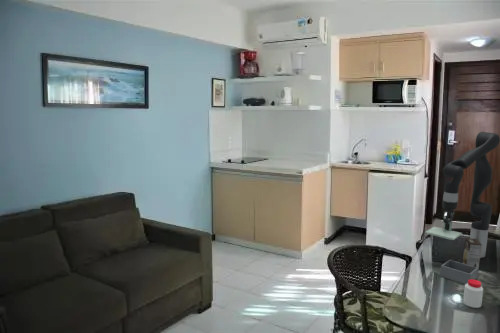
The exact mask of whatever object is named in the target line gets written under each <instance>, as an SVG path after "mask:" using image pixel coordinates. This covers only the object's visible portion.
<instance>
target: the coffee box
mask: <svg viewBox="0 0 500 333" xmlns="http://www.w3.org/2000/svg"><path fill="white" fill-rule="evenodd" d="M481 246H482V244H481V243H480V242H479V241H478V240H477V239H471V238H470V237H469V238H468V237H466V238H465V239H464V249H463V256H462V263H463V264H467V265H470V266H474V267H477V268H478V270H479V267H480V260H481V258H480V253H481Z"/></svg>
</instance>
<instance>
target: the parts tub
mask: <svg viewBox="0 0 500 333" xmlns="http://www.w3.org/2000/svg"><path fill="white" fill-rule="evenodd" d="M478 275H479V269H478V268H477V267H474V266H470V265H467V264H463V262H460V261H455V260H452V259H449V260H447V261H446V262H444V263H443V264H442V265H440V271H439V277H441V278H444V279H448V280H452V281H454V282H457V283H460V284H463V285H465V284H467V283H468V280H470V279H473V280H478Z"/></svg>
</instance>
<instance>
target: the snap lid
mask: <svg viewBox="0 0 500 333" xmlns="http://www.w3.org/2000/svg"><path fill="white" fill-rule="evenodd" d="M452 227H453V221H452V222H450V225H449V230H446V229H445V223H444V222H443V228H442V227H439V226H432V227H431V228H429V229H428V230H426V231H425V234H428V235H429V236H432V237H433V236H434V237H438V238H441V239H446V240H450V241H454V240H456V239H457V238H458V237H461V235H463V233H462V232H459V231H455V230H452Z"/></svg>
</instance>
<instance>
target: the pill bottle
mask: <svg viewBox="0 0 500 333" xmlns="http://www.w3.org/2000/svg"><path fill="white" fill-rule="evenodd" d="M463 290H464V291H463V298H462V302H463V304H464V305H465V306H468V307H469V308H475V309H476V308H477V309H478V308H481V307H482V302H483V296H484V295H483V294H484V287H483V286H482V282H481V281H479V280H478V279H476V280H473V279H470V280H468V283H467V284H464V289H463Z"/></svg>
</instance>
